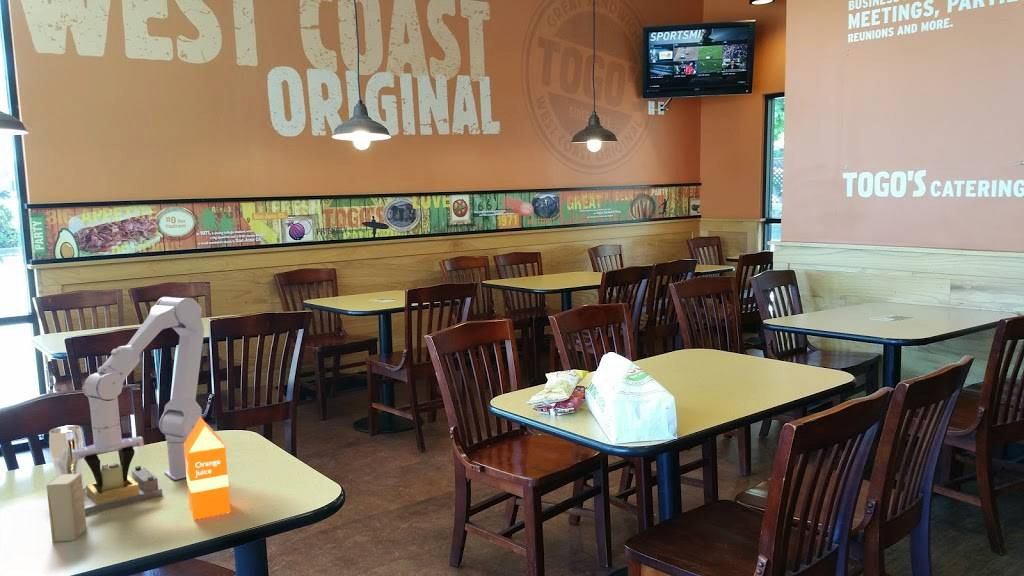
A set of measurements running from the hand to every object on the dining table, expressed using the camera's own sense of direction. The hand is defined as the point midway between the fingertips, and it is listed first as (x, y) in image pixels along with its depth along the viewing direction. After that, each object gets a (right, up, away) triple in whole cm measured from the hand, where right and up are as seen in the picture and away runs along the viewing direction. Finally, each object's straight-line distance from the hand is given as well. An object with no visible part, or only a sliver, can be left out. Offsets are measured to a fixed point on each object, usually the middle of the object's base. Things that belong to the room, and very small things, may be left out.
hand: (112, 483), depth 183 cm
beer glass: (-13, -4, +7) cm, 16 cm away
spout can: (0, -2, 0) cm, 2 cm away
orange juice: (+26, -4, -8) cm, 27 cm away
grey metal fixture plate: (0, -4, 0) cm, 4 cm away
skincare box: (+1, -6, -19) cm, 20 cm away
